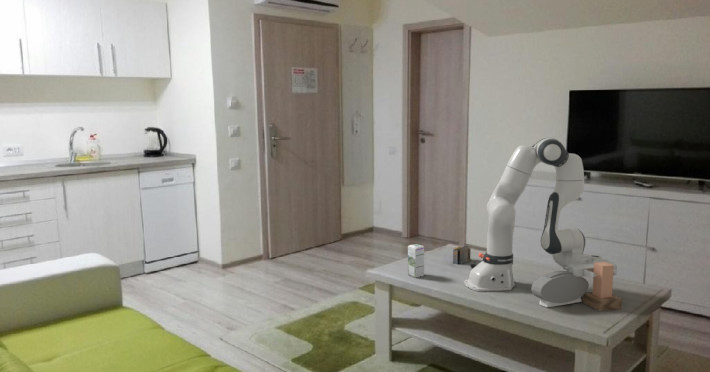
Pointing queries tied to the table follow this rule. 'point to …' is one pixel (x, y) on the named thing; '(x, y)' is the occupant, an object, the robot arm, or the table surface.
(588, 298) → the block
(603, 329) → the table surface
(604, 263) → the terracotta block
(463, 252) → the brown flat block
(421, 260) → the syrup box
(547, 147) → the robot arm
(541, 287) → the alarm clock
